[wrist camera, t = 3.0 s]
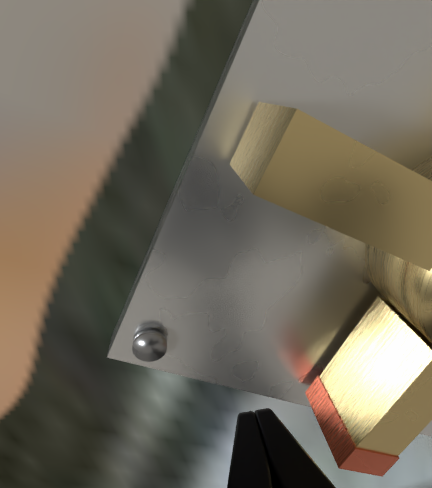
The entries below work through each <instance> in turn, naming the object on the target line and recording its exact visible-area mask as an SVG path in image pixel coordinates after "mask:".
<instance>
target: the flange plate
mask: <svg viewBox="0 0 432 488" xmlns="http://www.w3.org/2000/svg"><path fill="white" fill-rule="evenodd" d="M258 102H263V103H268V104H274V105H280V106H285V107H291V108H296V109H299V110H301V111H302V112H304V113H306V114H308V115H310V116H312V117H314V118H315V119H317V120H319V121H321V122H323V123H325V124H327V125H328V126H330V127H332V128H334V129H336V130H338V131H340V132H341V133H343V134H345V135H347V136H349V137H351V138H353V139H354V140H356V141H358V142H360V143H362V144H364V145H366V146H367V147H369V148H371V149H373V150H375V151H377V152H379V153H380V154H382V155H384V156H386V157H388V158H390V159H392V160H393V161H395V162H397V163H399V164H401V165H403V166H405V167H406V168H408V169H410V170H412V169H413V168H414V167H416V166H417V165H418V164H420V163H421V162H423V161H424V160H426V159H428V158H430V157H431V156H432V0H253V1H252V4H251V6H250V9H249V11H248V13H247V16H246V18H245V20H244V23H243V25H242V28H241V30H240V32H239V35H238V37H237V39H236V42H235V44H234V47H233V49H232V51H231V54H230V56H229V58H228V61H227V63H226V66H225V68H224V70H223V73H222V75H221V77H220V80H219V82H218V85H217V87H216V89H215V92H214V94H213V96H212V99H211V101H210V104H209V106H208V108H207V111H206V113H205V115H204V118H203V120H202V123H201V125H200V127H199V130H198V132H197V134H196V137H195V139H194V142H193V144H192V146H191V149H190V151H189V153H188V156H187V158H186V161H185V163H184V165H183V168H182V170H181V172H180V175H179V177H178V180H177V182H176V184H175V187H174V189H173V191H172V194H171V196H170V199H169V201H168V203H167V206H166V208H165V210H164V213H163V215H162V218H161V220H160V222H159V225H158V227H157V229H156V232H155V234H154V237H153V239H152V241H151V244H150V246H149V248H148V251H147V253H146V256H145V258H144V260H143V263H142V265H141V267H140V270H139V272H138V275H137V277H136V279H135V282H134V284H133V286H132V289H131V291H130V294H129V296H128V298H127V301H126V303H125V305H124V308H123V310H122V313H121V315H120V317H119V320H118V322H117V324H116V327H115V329H114V332H113V334H112V337H111V342H110V346H109V350H108V355H107V357H108V358H112V359H116V360H120V361H124V362H128V363H132V364H137V365H141V366H145V367H149V368H153V369H157V370H161V371H165V372H169V373H173V374H178V375H182V376H186V377H190V378H194V379H198V380H202V381H206V382H210V383H214V384H219V385H223V386H227V387H231V388H235V389H239V390H243V391H247V392H251V393H255V394H260V395H264V396H268V397H272V398H276V399H280V400H284V401H288V402H292V403H296V404H301V405H305V406H309V407H311V405H310V403H309V400H308V398H307V396H306V394H305V392H306V391H307V389H308V388H309V386H310V385H311V384H312V382H313V381H314V380H315V378H316V377H317V375H318V376H320V375H321V373H322V372H323V370H324V369H325V368H326V366H327V365H328V364H329V362H330V361H331V360H332V358H333V357H334V355H335V354H336V353H337V351H338V350H339V349H340V347H341V346H342V344H343V343H344V342H345V340H346V339H347V338H348V336H349V335H350V333H351V332H352V331H353V329H354V328H355V327H356V325H357V324H358V323H359V321H360V320H361V318H362V317H363V316H364V314H365V313H366V312H367V310H368V309H369V307H370V306H371V305H372V303H373V302H374V301H375V299H376V298H377V296H379V297H382V298H384V299H386V298H385V297H384V296H383V295H382V294H381V293H380V292H379V291H378V290H377V289H376V288H375V286H374V285H373V284H372V282H371V280H370V278H369V276H368V273H367V269H366V265H365V243H363V242H361V241H359V240H357V239H354V238H352V237H350V236H347V235H345V234H343V233H340V232H338V231H336V230H334V229H331V228H329V227H327V226H324V225H322V224H320V223H317V222H315V221H313V220H310V219H308V218H306V217H304V216H301V215H299V214H297V213H294V212H292V211H290V210H287V209H285V208H283V207H280V206H278V205H276V204H274V203H271V202H269V201H267V200H264V199H262V198H260V197H257V196H255V195H253V194H252V193H251V191H250V190H249V189H248V187H247V186H246V185H245V184H244V182H243V181H242V180H241V178H240V177H239V176H238V175H237V173H236V172H235V171H234V169H233V168H232V167H231V166H230V162H231V160H232V158H233V155H234V153H235V151H236V149H237V147H238V145H239V143H240V141H241V138H242V136H243V134H244V132H245V130H246V128H247V126H248V123H249V121H250V119H251V117H252V115H253V113H254V111H255V109H256V106H257V104H258ZM419 434H424V435H428V436H432V420H431V421H430V423H429V424H428V425H427V426H426V427H425V428H424V429H423V430H422V431H421V432H420V433H419Z"/></svg>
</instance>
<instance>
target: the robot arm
mask: <svg viewBox="0 0 432 488" xmlns="http://www.w3.org/2000/svg"><path fill="white" fill-rule="evenodd" d="M227 488H335V486H334V485H333V484H332V483H331V481H330V480H329V479H328V478H327V477H326V475H325V474H324V473H323V472H322V471H321V469H320V468H319V467H318V466H317V464H316V463H315V462H314V461H313V460H312V458H311V457H310V456H309V455H308V454H307V452H306V451H305V450H304V449H303V448H302V446H301V445H300V444H299V443H298V441H297V440H296V439H295V438H294V437H293V435H292V434H291V433H290V432H289V431H288V429H287V428H286V427H285V426H284V424H283V423H282V422H281V421H280V420H279V418H278V417H277V416H276V415H275V414H274V412H273V411H272V410H271V409H269V408H266V409H260V410H256V411H255V413H254V412H252V411H249V412H243V413H239V415H238V418H237V425H236V432H235V438H234V445H233V452H232V459H231V465H230V472H229V479H228V485H227Z"/></svg>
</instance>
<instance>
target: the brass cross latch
mask: <svg viewBox="0 0 432 488" xmlns="http://www.w3.org/2000/svg"><path fill="white" fill-rule="evenodd" d="M230 166H231V167H232V168H233V169H234V171H235V172H236V173H237V175H238V176H239V177H240V178H241V180H242V181H243V182H244V184H245V185H246V186H247V187H248V189H249V190H250V191H251V193H252V194H253V195H255V196H257V197H260V198H262V199H264V200H267V201H269V202H271V203H274V204H276V205H278V206H280V207H283V208H285V209H287V210H290V211H292V212H294V213H297V214H299V215H301V216H304V217H306V218H308V219H310V220H313V221H315V222H317V223H320V224H322V225H324V226H327V227H329V228H331V229H334V230H336V231H338V232H340V233H343V234H345V235H347V236H350V237H352V238H354V239H357V240H359V241H361V242H363V243H365V265H366V269H367V273H368V276H369V278H370V280H371V282H372V284H373V285H374V286H375V288H376V289H377V290H378V291H379V292H380V293H381V294H382V295H383V296H384V297H385V298H386V299H384V298H382V297H379V296H377V298H376V299H375V301H374V302H373V303H372V305H371V306H370V307H369V309H368V310H367V312H366V313H365V314H364V316H363V317H362V318H361V320H360V321H359V323H358V324H357V325H356V327H355V328H354V329H353V331H352V332H351V333H350V335H349V336H348V338H347V339H346V340H345V342H344V343H343V344H342V346H341V347H340V349H339V350H338V351H337V353H336V354H335V355H334V357H333V358H332V360H331V361H330V362H329V364H328V365H327V366H326V368H325V369H324V370H323V372H322V373H321V375H320V376H318V375H317V377H316V378H315V380H314V381H313V382H312V384H311V385H310V386H309V388H308V389H307V391H306V392H305V394H306V396H307V398H308V400H309V403H310V405H311V407H312V409H313V412H314V414H315V416H316V418H317V421H318V423H319V425H320V427H321V430H322V432H323V434H324V436H325V439H326V441H327V443H328V445H329V447H330V450H331V452H332V454H333V456H334V459H335V461H336V463H337V465H338V468H340V469H345V470H351V471H356V472H361V473H367V474H372V475H377V476H383V475H384V474H385V473H386V472H387V471H388V470H389V469H390V468H391V467H392V466H393V465H394V464H395V462H396V461H397V460H398V459H399V457H398V455H399V454H400V453H401V452H402V451H403V450H404V449H405V448H406V447H407V446H408V445H409V444H410V443H411V442H412V441H413V440H414V438H415V437H416V436H417V435H418V434H419V433H420V432H421V431H422V430H423V429H424V428H425V427H426V426H427V425H428V424H429V423H430V421H431V420H432V156H431V157H430V158H428V159H426V160H424V161H423V162H421V163H420V164H418V165H417V166H416V167H414V168H413V169H412V170H410V169H408V168H406V167H405V166H403V165H401V164H399V163H397V162H395V161H393V160H392V159H390V158H388V157H386V156H384V155H382V154H380V153H379V152H377V151H375V150H373V149H371V148H369V147H367V146H366V145H364V144H362V143H360V142H358V141H356V140H354V139H353V138H351V137H349V136H347V135H345V134H343V133H341V132H340V131H338V130H336V129H334V128H332V127H330V126H328V125H327V124H325V123H323V122H321V121H319V120H317V119H315V118H314V117H312V116H310V115H308V114H306V113H304V112H302V111H301V110H299V109H296V108H291V107H285V106H280V105H274V104H268V103H263V102H258V104H257V106H256V109H255V111H254V113H253V115H252V117H251V119H250V121H249V123H248V126H247V128H246V130H245V132H244V134H243V136H242V138H241V141H240V143H239V145H238V147H237V149H236V151H235V153H234V155H233V158H232V160H231V162H230Z"/></svg>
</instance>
